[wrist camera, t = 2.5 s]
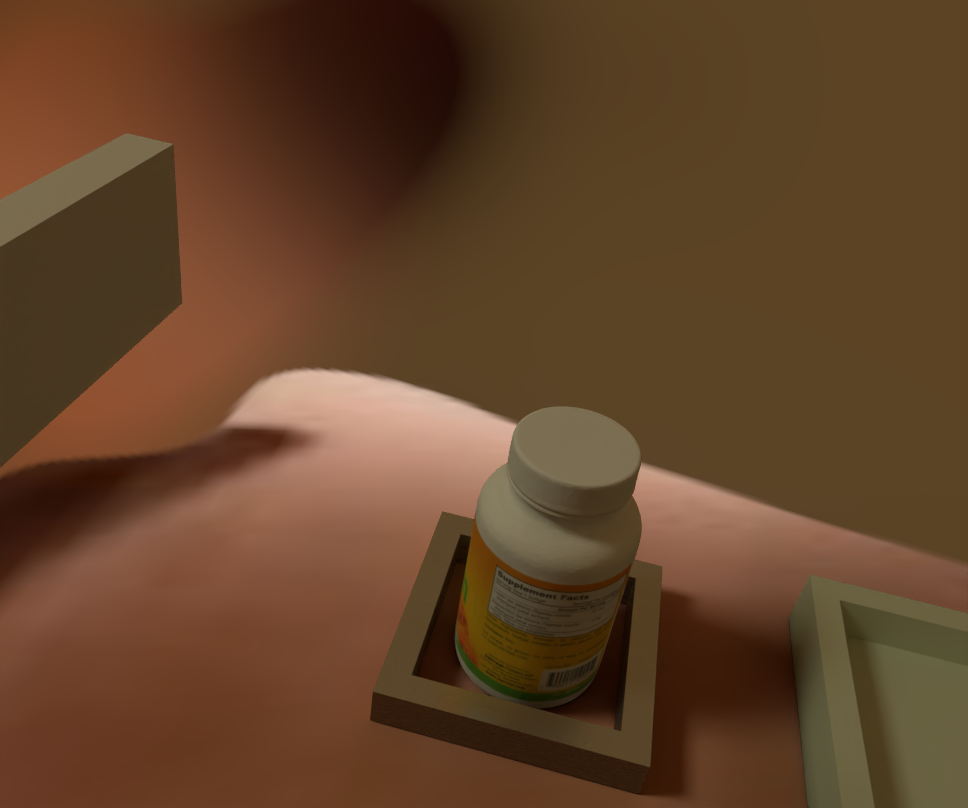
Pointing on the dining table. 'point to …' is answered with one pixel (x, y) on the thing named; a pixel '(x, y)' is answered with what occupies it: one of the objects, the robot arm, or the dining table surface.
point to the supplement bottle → (549, 558)
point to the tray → (880, 698)
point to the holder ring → (509, 724)
